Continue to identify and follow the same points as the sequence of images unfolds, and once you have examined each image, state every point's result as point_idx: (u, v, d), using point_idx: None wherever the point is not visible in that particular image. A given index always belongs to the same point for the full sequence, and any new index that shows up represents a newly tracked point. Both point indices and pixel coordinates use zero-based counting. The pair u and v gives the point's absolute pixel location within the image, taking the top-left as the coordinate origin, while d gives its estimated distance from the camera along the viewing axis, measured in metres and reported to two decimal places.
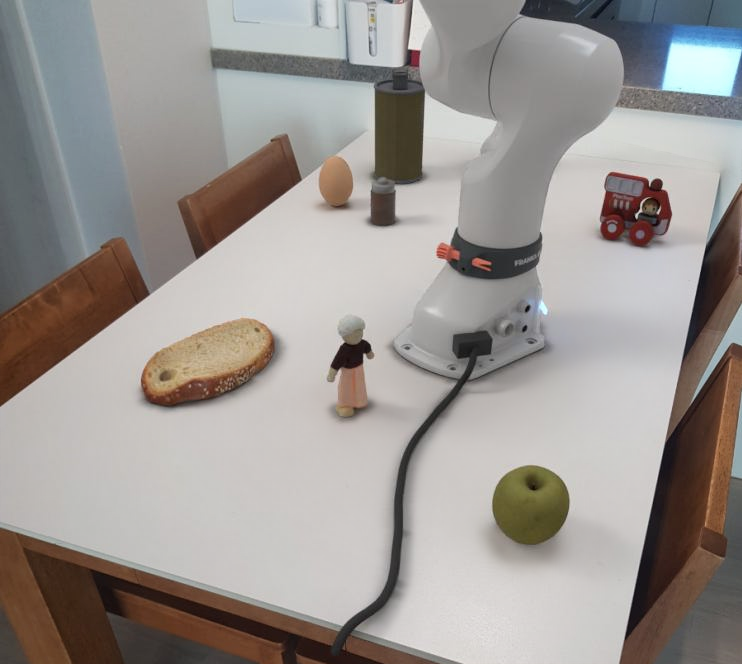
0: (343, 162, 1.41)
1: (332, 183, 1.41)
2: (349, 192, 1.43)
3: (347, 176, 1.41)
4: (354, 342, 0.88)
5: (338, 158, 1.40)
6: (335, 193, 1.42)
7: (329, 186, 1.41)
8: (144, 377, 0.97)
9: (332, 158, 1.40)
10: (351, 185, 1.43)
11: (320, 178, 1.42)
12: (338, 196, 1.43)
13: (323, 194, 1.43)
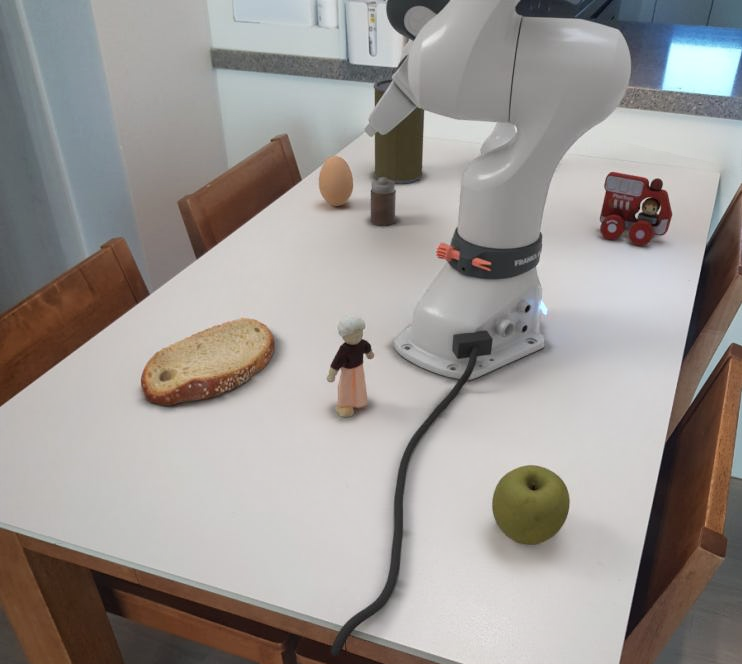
0: (343, 162, 1.41)
1: (332, 183, 1.41)
2: (349, 192, 1.43)
3: (347, 176, 1.41)
4: (354, 342, 0.88)
5: (338, 158, 1.40)
6: (335, 193, 1.42)
7: (329, 186, 1.41)
8: (144, 377, 0.97)
9: (332, 158, 1.40)
10: (351, 185, 1.43)
11: (320, 178, 1.42)
12: (338, 196, 1.43)
13: (323, 194, 1.43)
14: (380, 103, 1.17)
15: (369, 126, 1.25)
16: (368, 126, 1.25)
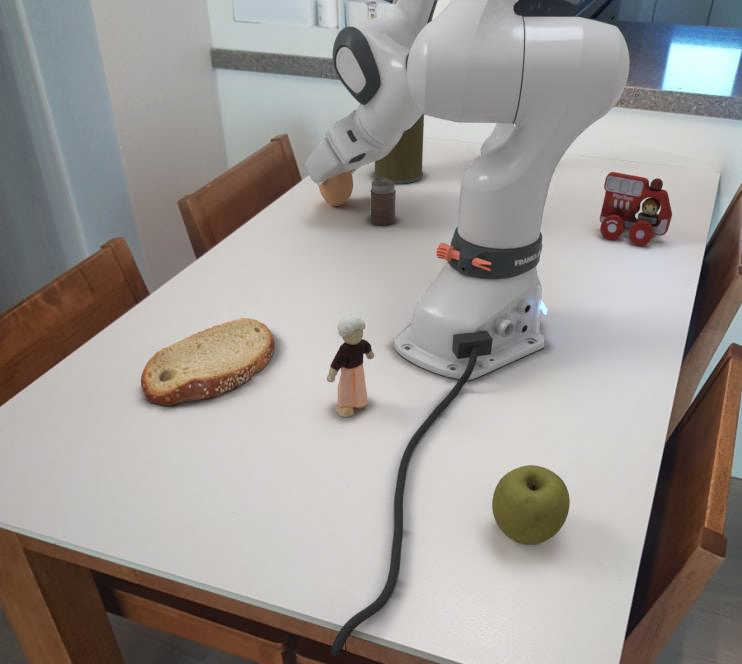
0: None
1: (332, 183, 1.41)
2: (349, 192, 1.43)
3: (347, 176, 1.41)
4: (354, 342, 0.88)
5: None
6: (335, 193, 1.42)
7: (329, 186, 1.41)
8: (144, 377, 0.97)
9: None
10: (351, 185, 1.43)
11: None
12: (338, 196, 1.43)
13: (323, 194, 1.43)
14: (313, 153, 1.31)
15: None
16: None
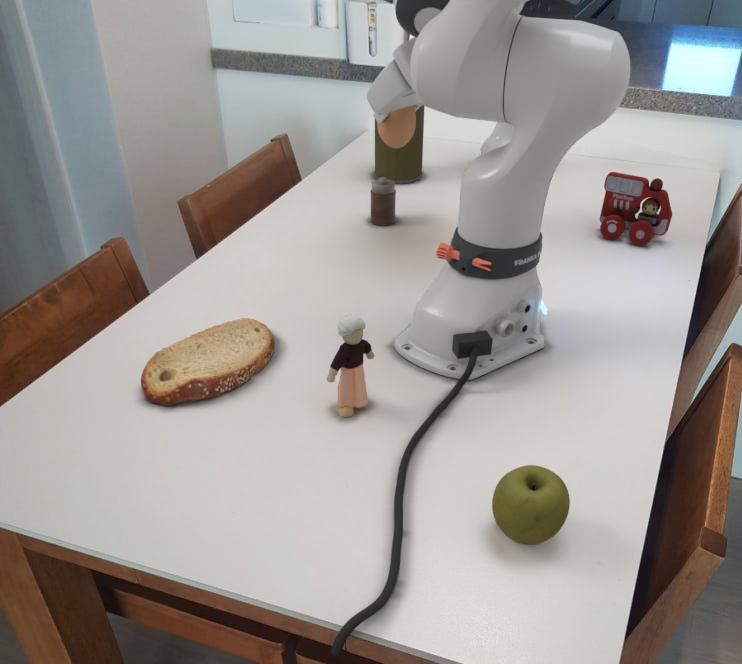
0: None
1: (394, 120, 1.24)
2: (412, 131, 1.27)
3: (410, 112, 1.25)
4: (354, 342, 0.88)
5: None
6: (397, 132, 1.25)
7: (390, 123, 1.25)
8: (144, 377, 0.97)
9: None
10: (414, 123, 1.26)
11: None
12: (399, 135, 1.26)
13: (382, 133, 1.27)
14: (377, 78, 1.14)
15: None
16: None
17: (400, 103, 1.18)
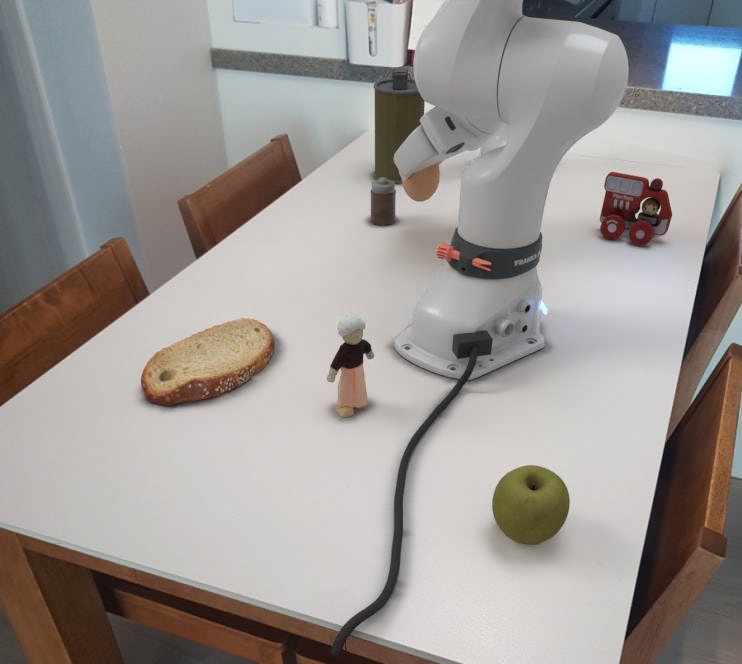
0: None
1: (419, 177, 1.27)
2: (436, 186, 1.29)
3: (435, 168, 1.27)
4: (354, 342, 0.88)
5: None
6: (421, 188, 1.28)
7: (415, 180, 1.27)
8: (144, 377, 0.97)
9: None
10: (438, 178, 1.29)
11: None
12: (424, 191, 1.29)
13: (407, 189, 1.29)
14: (404, 142, 1.17)
15: None
16: None
17: (426, 164, 1.21)
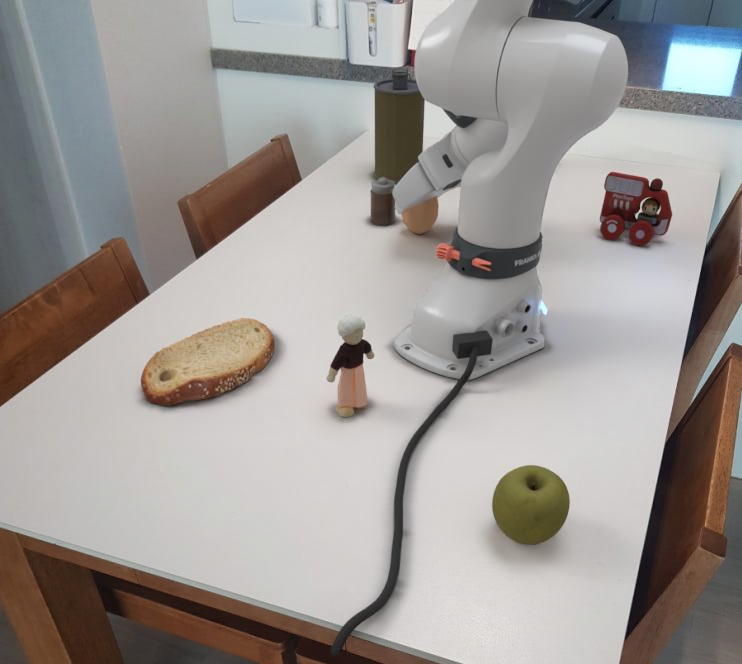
0: None
1: (418, 210, 1.31)
2: (434, 219, 1.33)
3: (434, 203, 1.31)
4: (354, 342, 0.88)
5: None
6: (420, 221, 1.32)
7: (414, 213, 1.31)
8: (144, 377, 0.97)
9: None
10: (437, 212, 1.33)
11: None
12: (423, 224, 1.32)
13: (406, 221, 1.33)
14: (403, 178, 1.20)
15: None
16: (398, 203, 1.29)
17: (424, 198, 1.24)
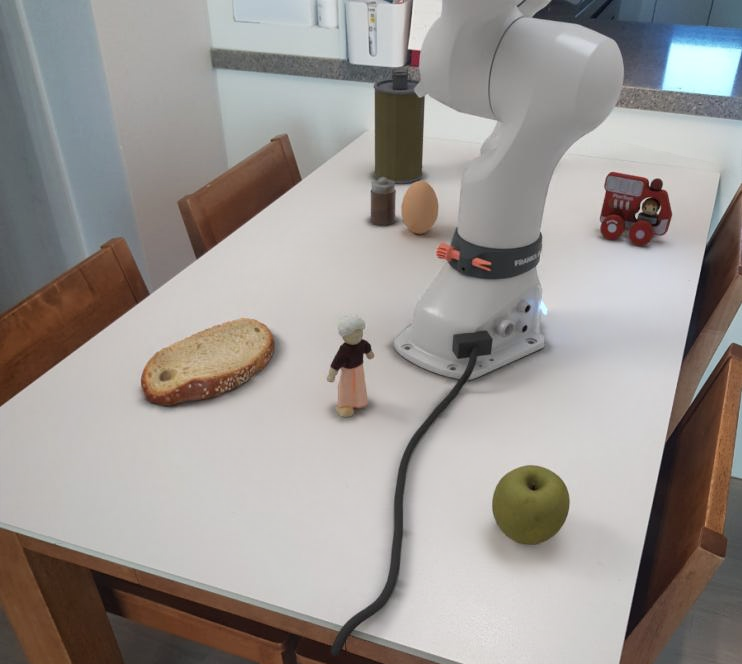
0: (429, 187, 1.30)
1: (418, 210, 1.31)
2: (434, 219, 1.33)
3: (434, 203, 1.31)
4: (354, 342, 0.88)
5: (424, 183, 1.30)
6: (420, 221, 1.32)
7: (414, 213, 1.31)
8: (144, 377, 0.97)
9: (418, 183, 1.30)
10: (437, 212, 1.33)
11: (404, 204, 1.32)
12: (423, 224, 1.32)
13: (406, 221, 1.33)
14: None
15: (419, 85, 1.19)
16: (418, 85, 1.19)
17: None
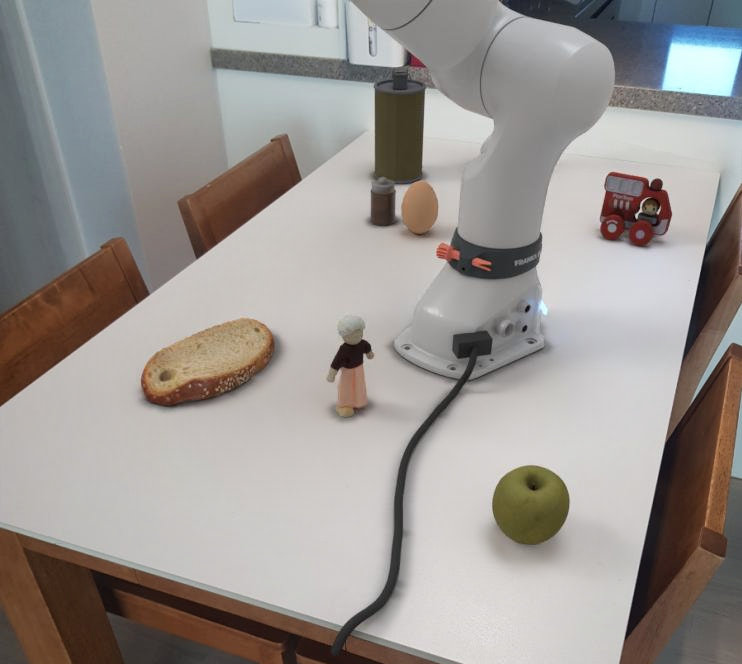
0: (429, 187, 1.30)
1: (418, 210, 1.31)
2: (434, 219, 1.33)
3: (434, 203, 1.31)
4: (354, 342, 0.88)
5: (424, 183, 1.30)
6: (420, 221, 1.32)
7: (414, 213, 1.31)
8: (144, 377, 0.97)
9: (418, 183, 1.30)
10: (437, 212, 1.33)
11: (404, 204, 1.32)
12: (423, 224, 1.32)
13: (406, 221, 1.33)
14: None
15: None
16: None
17: None
